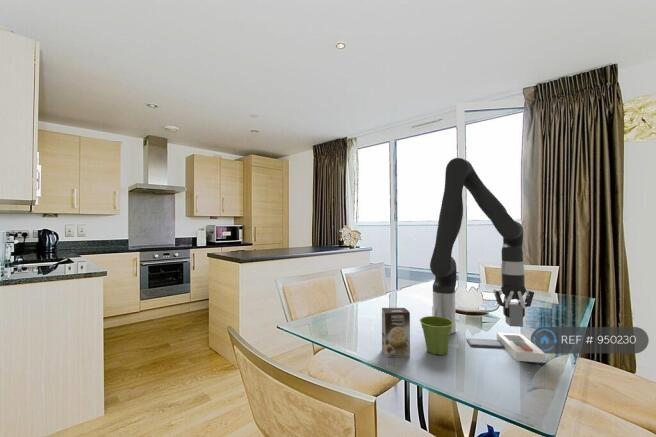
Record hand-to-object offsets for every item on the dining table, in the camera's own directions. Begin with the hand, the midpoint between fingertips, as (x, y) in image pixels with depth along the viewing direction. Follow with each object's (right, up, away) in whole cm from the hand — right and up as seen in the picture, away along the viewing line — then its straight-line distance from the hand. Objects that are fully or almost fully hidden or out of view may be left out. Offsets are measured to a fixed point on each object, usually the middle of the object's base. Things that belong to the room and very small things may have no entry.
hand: (514, 316), depth 115 cm
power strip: (-1, -11, -4) cm, 12 cm away
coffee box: (-47, -12, -5) cm, 48 cm away
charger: (0, -3, 0) cm, 3 cm away
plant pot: (-31, -12, -3) cm, 33 cm away
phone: (-10, -11, +2) cm, 15 cm away
